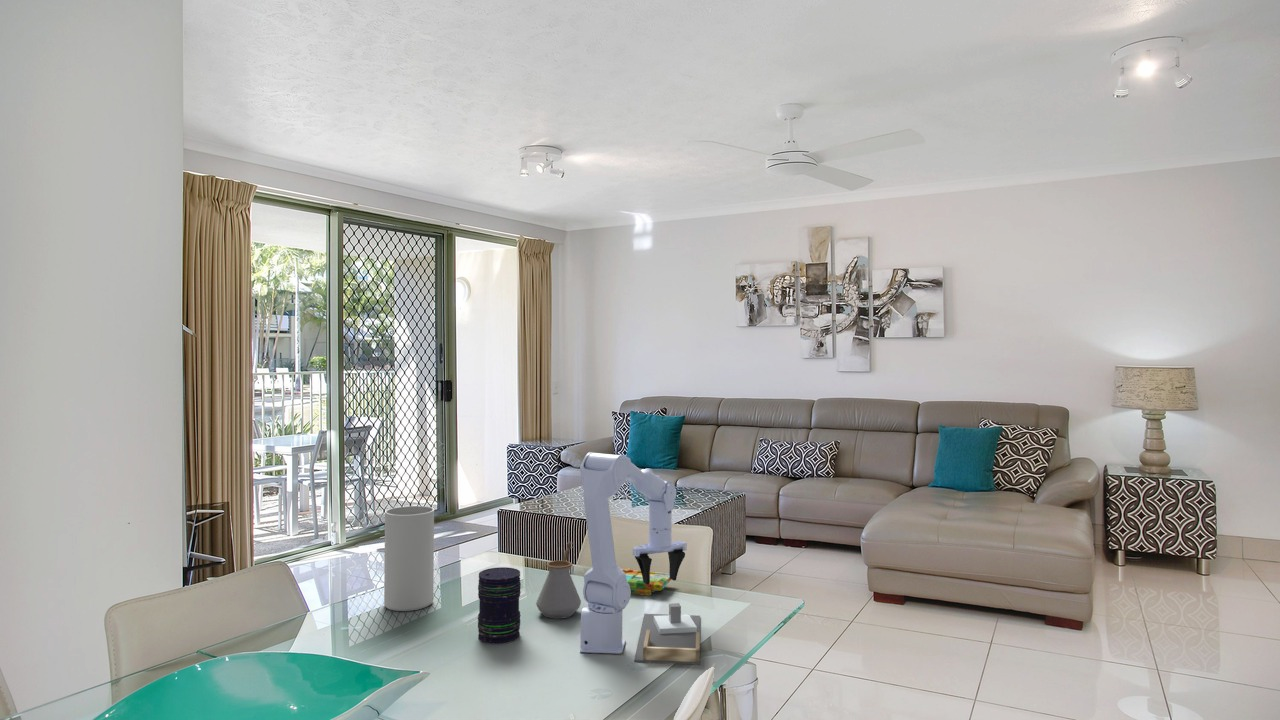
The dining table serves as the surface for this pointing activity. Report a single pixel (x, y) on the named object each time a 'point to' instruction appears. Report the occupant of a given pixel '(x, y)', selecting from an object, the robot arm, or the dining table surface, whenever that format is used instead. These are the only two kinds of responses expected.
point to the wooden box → (671, 651)
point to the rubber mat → (665, 639)
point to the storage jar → (499, 605)
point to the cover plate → (676, 626)
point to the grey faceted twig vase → (559, 590)
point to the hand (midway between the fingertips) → (659, 581)
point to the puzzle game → (639, 587)
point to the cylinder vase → (409, 558)
